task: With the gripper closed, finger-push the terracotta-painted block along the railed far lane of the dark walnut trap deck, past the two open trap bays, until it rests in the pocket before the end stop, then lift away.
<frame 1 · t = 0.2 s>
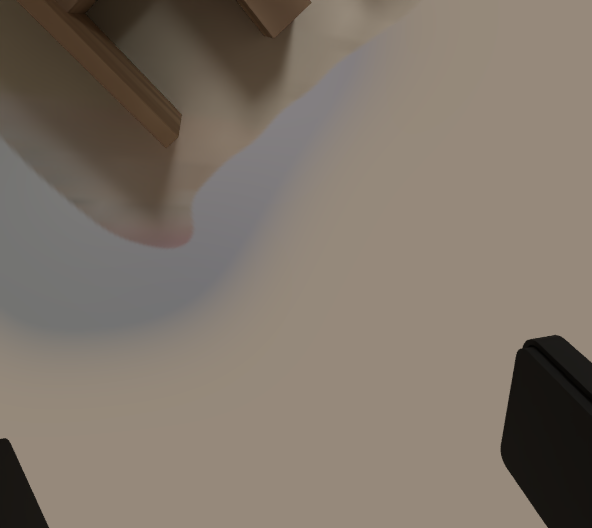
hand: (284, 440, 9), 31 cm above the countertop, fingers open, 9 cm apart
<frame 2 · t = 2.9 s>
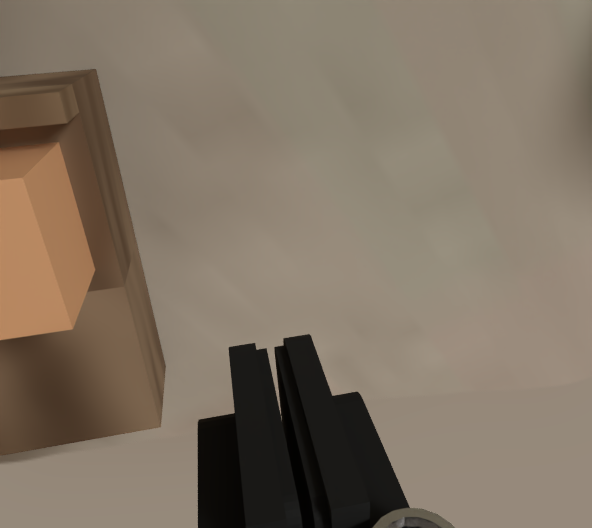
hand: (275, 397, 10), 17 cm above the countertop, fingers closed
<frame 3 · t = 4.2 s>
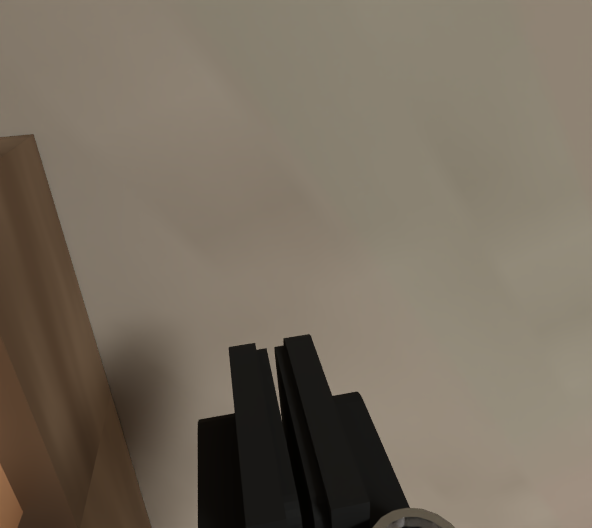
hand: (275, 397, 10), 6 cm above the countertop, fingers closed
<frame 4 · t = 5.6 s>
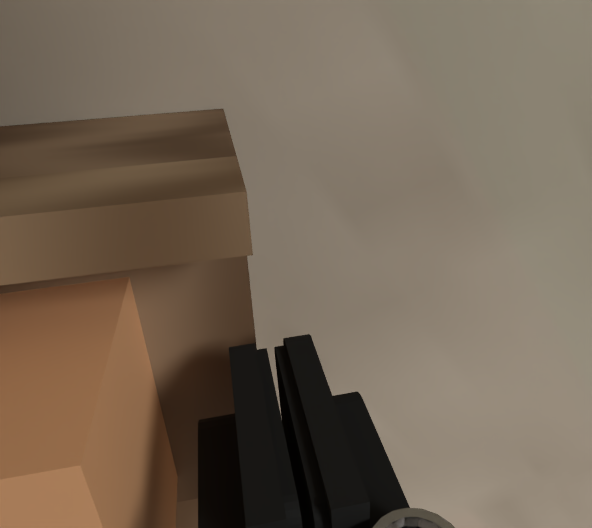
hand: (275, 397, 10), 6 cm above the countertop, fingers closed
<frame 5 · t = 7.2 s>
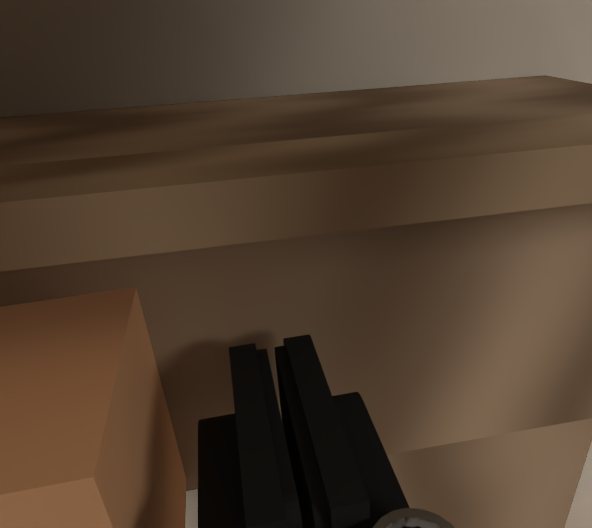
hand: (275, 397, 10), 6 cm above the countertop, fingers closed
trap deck: (111, 376, 16), on the countertop
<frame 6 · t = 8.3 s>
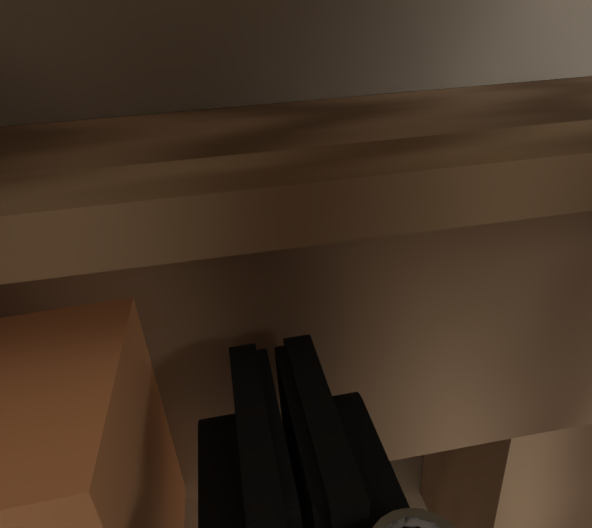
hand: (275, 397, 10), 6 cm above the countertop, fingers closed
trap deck: (270, 359, 17), on the countertop
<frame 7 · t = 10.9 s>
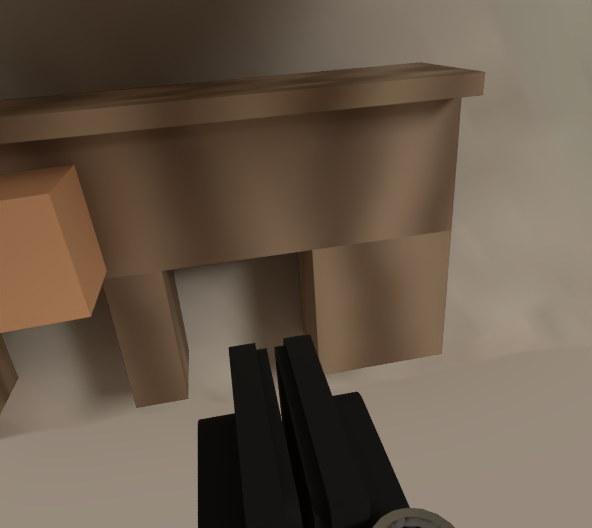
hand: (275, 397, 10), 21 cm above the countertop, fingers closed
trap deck: (199, 231, 30), on the countertop
block: (15, 232, 23), point 5 cm above the countertop, touching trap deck
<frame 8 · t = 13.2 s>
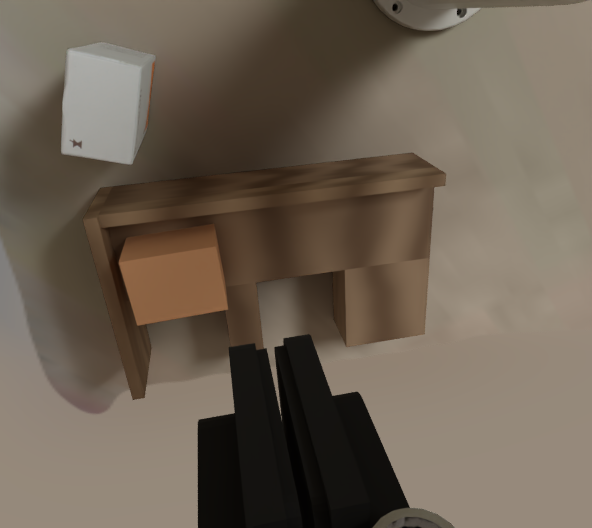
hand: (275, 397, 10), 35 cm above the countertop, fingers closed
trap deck: (271, 255, 48), on the countertop
block: (177, 260, 41), point 5 cm above the countertop, touching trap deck
skincare box: (126, 86, 39), on the countertop
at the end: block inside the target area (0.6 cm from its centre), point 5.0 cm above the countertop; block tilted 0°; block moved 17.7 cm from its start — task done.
